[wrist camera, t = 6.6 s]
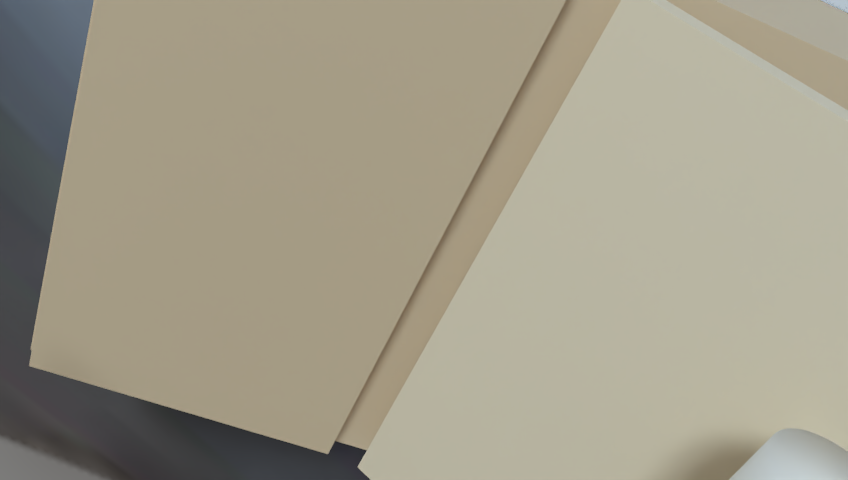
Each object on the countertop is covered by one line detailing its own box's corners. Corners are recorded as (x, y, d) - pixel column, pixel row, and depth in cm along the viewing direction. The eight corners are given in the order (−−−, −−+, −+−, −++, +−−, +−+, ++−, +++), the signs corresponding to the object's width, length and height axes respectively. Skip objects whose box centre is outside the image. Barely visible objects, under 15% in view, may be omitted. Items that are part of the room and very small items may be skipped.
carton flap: (1119, 275, 10) (1176, 415, 7) (633, 695, 16) (554, 863, 13) (642, -15, 12) (531, -3, 9) (373, 454, 18) (254, 551, 15)
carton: (888, 32, 18) (1039, 156, 13) (611, 388, 24) (648, 554, 20) (227, -279, 15) (126, -258, 10) (111, 220, 21) (18, 369, 17)
